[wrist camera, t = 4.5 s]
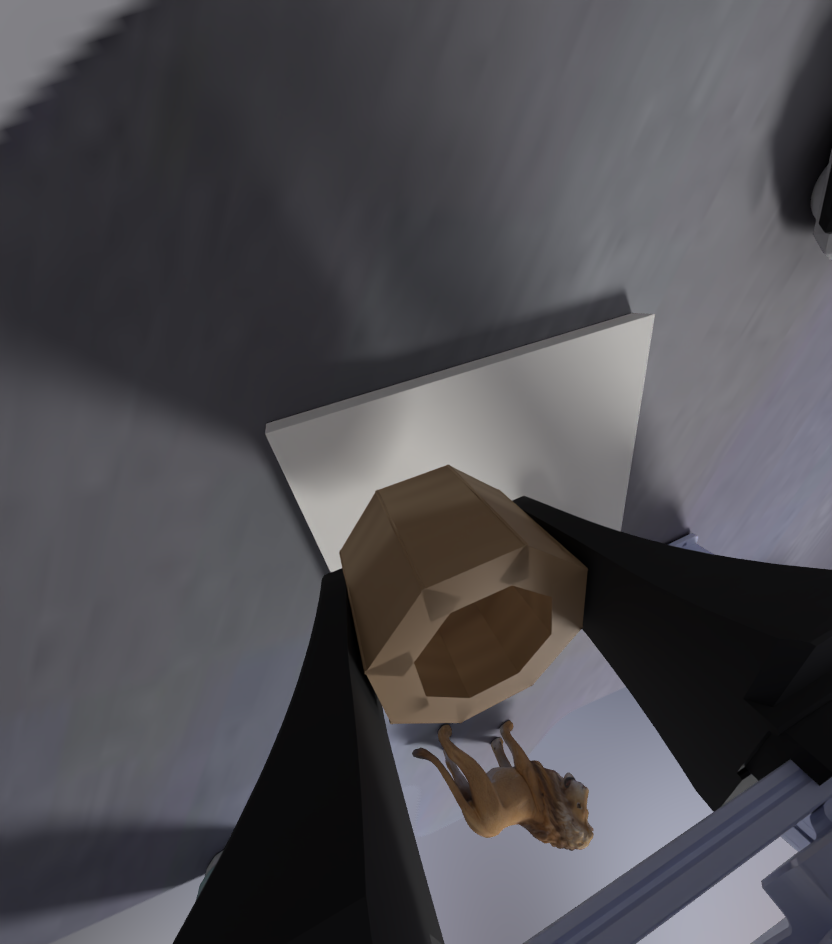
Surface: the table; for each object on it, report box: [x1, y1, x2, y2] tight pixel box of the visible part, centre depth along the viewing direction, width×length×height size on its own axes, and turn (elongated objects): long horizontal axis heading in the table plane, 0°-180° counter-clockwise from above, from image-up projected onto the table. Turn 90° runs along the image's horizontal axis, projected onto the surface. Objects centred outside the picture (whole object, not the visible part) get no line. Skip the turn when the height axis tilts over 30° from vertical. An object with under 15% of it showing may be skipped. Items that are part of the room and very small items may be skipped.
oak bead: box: [339, 464, 588, 724], centre depth 10 cm, size 6×6×4 cm
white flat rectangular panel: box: [265, 313, 655, 572], centre depth 19 cm, size 18×16×1 cm
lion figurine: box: [412, 721, 593, 851], centre depth 28 cm, size 15×5×9 cm, turn 67°
